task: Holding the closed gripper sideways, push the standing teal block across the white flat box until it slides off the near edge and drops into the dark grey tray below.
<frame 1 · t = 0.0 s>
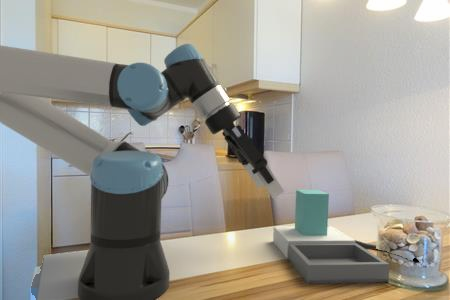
hand: (270, 189, 72), 15 cm above the table, tool tilted 35°, fingers open, 13 cm apart
bracket: (375, 252, 80), on the table
block: (310, 231, 79), point 4 cm above the table, touching white flat box
white flat box: (311, 249, 78), on the table
tray: (334, 269, 66), on the table
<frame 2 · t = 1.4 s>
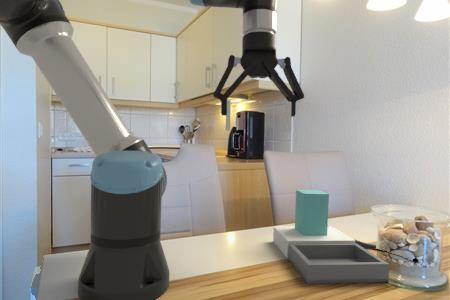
hand: (258, 131, 72), 28 cm above the table, tool pointing down, fingers open, 13 cm apart
nothing on the table moved.
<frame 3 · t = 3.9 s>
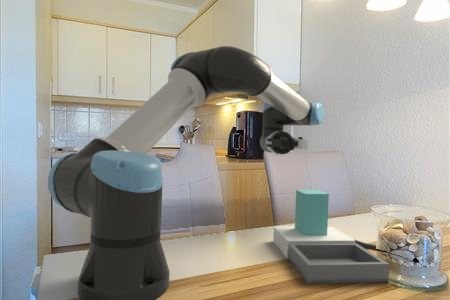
hand: (304, 144, 85), 26 cm above the table, tool horizontal, fingers closed
nothing on the table moved.
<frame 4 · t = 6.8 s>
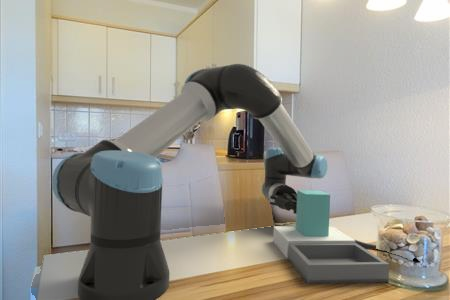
hand: (310, 212, 82), 8 cm above the table, tool horizontal, fingers closed
block: (311, 232, 78), point 4 cm above the table, touching gripper
everything else where it was.
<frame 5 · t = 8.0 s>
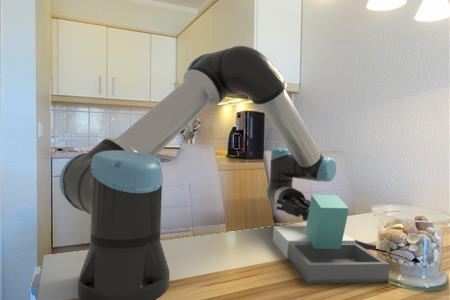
hand: (321, 219, 75), 8 cm above the table, tool horizontal, fingers closed
block: (322, 240, 72), point 4 cm above the table, tilted 16°, touching white flat box
everything else where it was.
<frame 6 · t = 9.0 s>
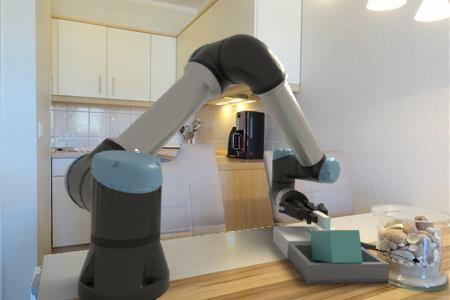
hand: (327, 223, 70), 8 cm above the table, tool horizontal, fingers closed
block: (324, 244, 71), point 4 cm above the table, tilted 73°, touching gripper, tray
everything else where it was.
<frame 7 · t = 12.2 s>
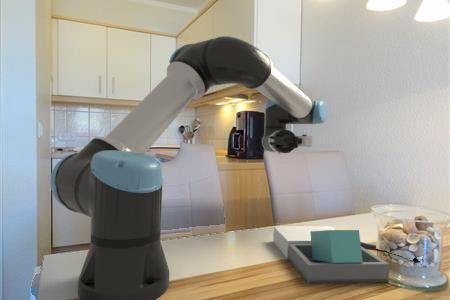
hand: (309, 141, 82), 27 cm above the table, tool horizontal, fingers closed
block: (324, 245, 71), point 3 cm above the table, tilted 72°, touching tray
everything else where it was.
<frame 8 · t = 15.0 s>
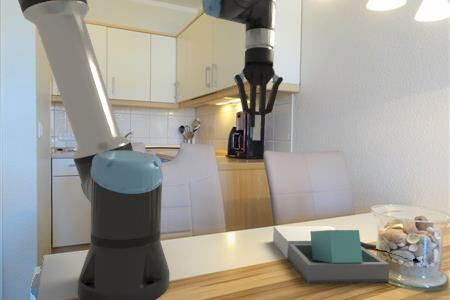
hand: (256, 140, 84), 26 cm above the table, tool pointing down, fingers closed
nothing on the table moved.
at the end: block inside the target area (5.0 cm from its centre), point 3.5 cm above the table; block moved 8.5 cm from its start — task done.
